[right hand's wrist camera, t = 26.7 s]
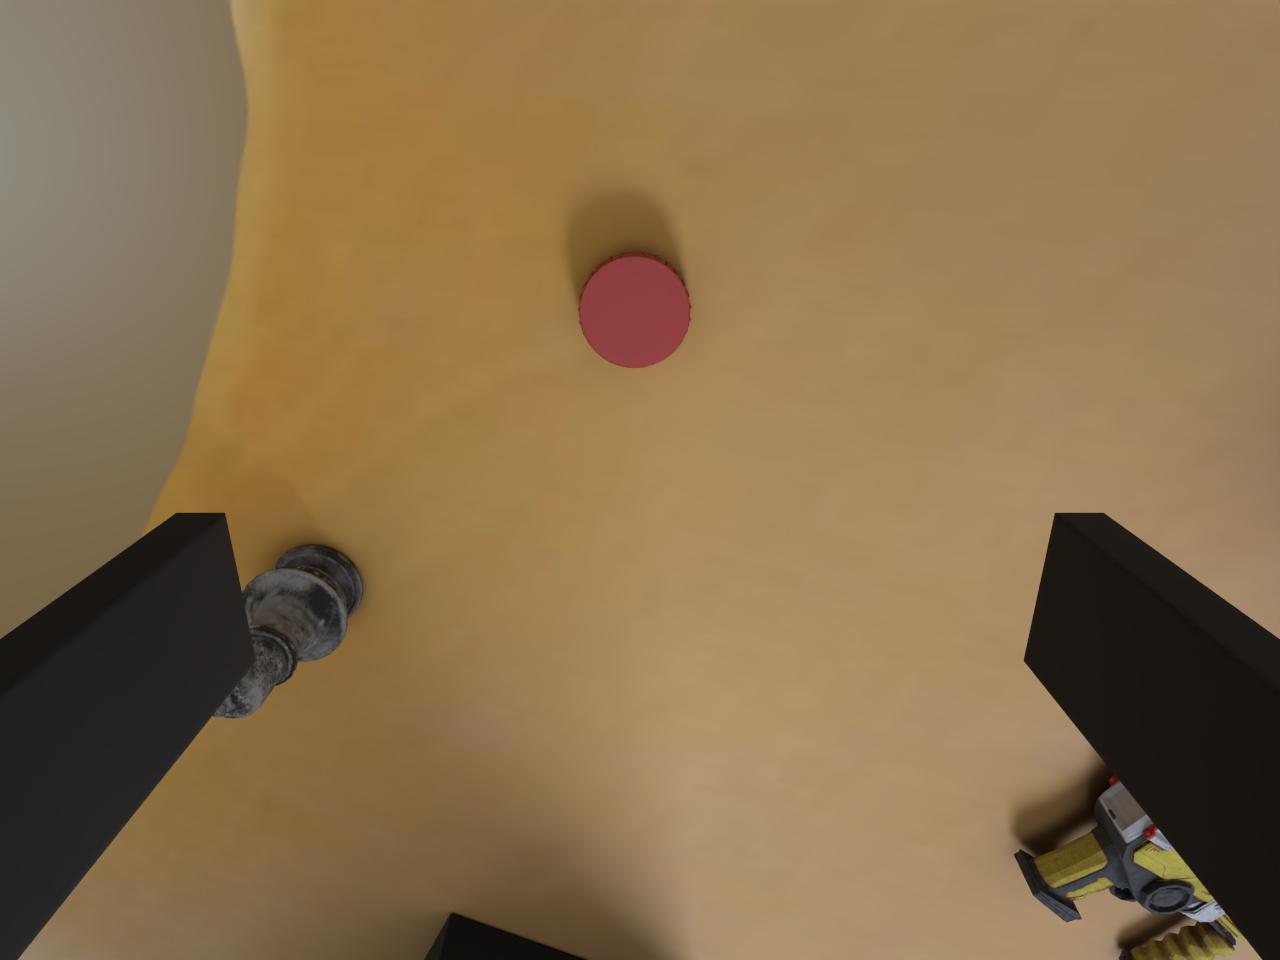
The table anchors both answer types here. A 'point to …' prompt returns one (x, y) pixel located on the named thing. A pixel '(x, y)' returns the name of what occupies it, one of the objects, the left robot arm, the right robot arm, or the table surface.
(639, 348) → the lid
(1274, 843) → the right robot arm
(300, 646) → the dark grey tiered figure
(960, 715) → the table surface
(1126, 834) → the toy gun
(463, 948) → the cardboard box
